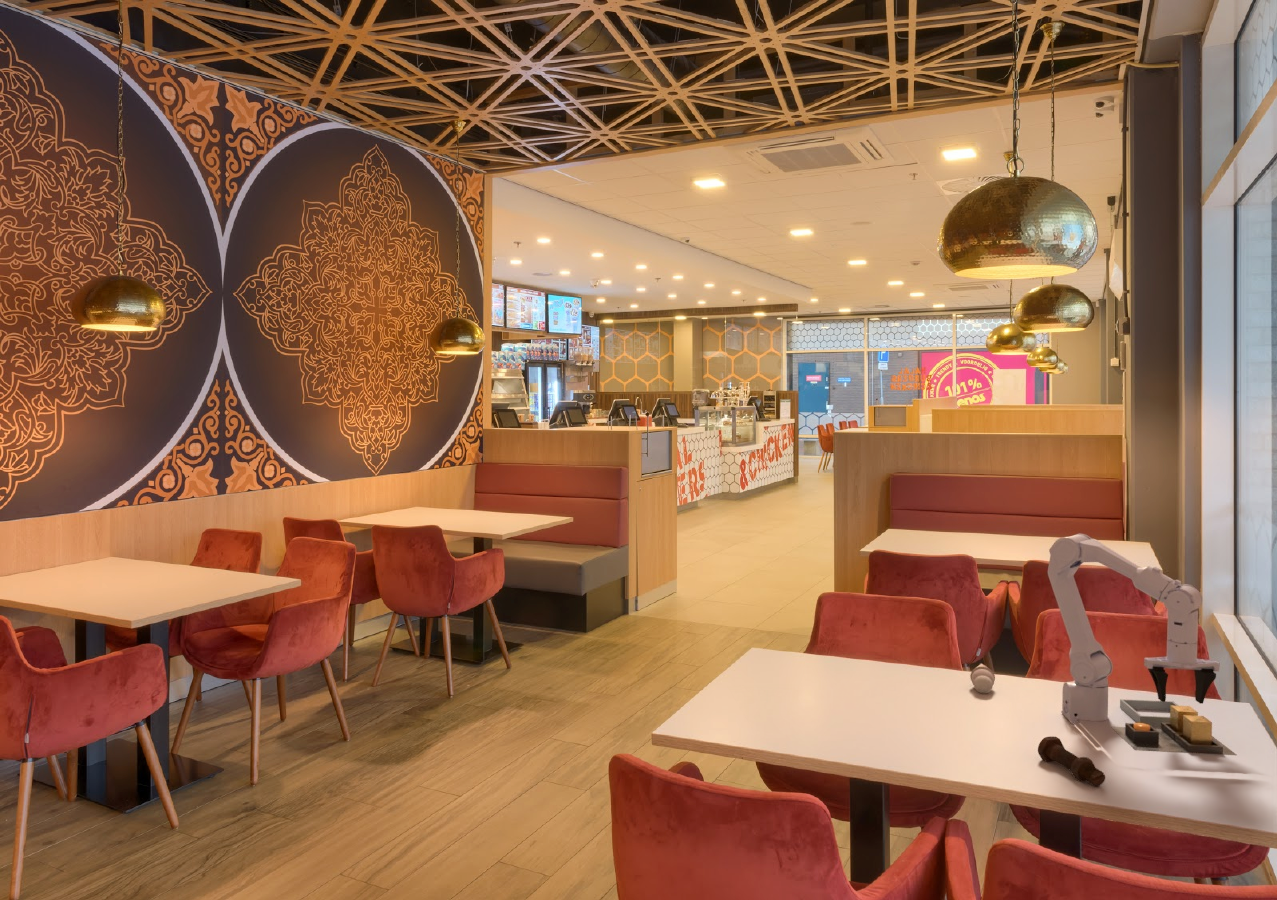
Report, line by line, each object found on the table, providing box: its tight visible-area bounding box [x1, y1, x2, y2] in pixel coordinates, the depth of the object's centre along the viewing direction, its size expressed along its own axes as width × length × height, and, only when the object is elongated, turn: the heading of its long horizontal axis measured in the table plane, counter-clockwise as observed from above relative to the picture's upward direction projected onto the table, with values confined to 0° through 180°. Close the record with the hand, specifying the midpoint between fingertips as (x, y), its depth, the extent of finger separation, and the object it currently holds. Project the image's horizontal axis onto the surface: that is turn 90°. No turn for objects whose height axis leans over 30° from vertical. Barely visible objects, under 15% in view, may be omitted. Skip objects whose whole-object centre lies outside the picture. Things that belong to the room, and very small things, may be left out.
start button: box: [1134, 722, 1150, 731], centre depth 194 cm, size 3×3×2 cm
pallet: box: [1110, 722, 1237, 756], centre depth 193 cm, size 20×14×4 cm
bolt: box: [1037, 736, 1106, 787], centre depth 179 cm, size 6×5×15 cm
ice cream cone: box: [969, 663, 996, 695], centre depth 234 cm, size 6×6×15 cm
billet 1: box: [1169, 705, 1199, 733], centre depth 196 cm, size 4×4×6 cm
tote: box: [1119, 698, 1180, 727], centre depth 207 cm, size 12×12×3 cm
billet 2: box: [1183, 715, 1213, 745], centre depth 189 cm, size 4×4×6 cm
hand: (1180, 701), depth 194 cm, fingers open, 7 cm apart
